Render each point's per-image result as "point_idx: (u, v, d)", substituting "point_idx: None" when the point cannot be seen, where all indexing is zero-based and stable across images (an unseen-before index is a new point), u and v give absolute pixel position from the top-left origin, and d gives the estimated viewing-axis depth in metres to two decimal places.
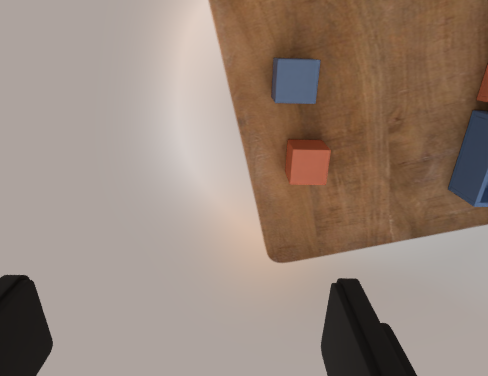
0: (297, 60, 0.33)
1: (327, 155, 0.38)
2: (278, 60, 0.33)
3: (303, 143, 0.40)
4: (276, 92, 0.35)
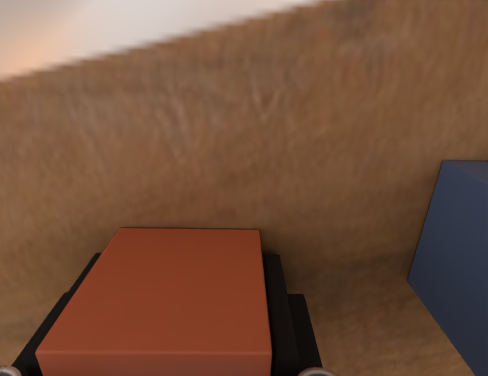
0: None
1: None
2: None
3: None
4: None
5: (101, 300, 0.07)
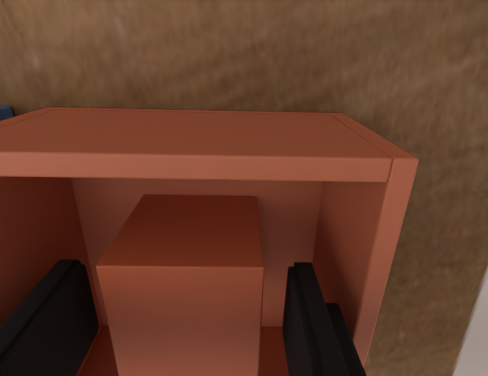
0: None
1: (237, 373, 0.10)
2: None
3: None
4: None
5: (137, 238, 0.10)
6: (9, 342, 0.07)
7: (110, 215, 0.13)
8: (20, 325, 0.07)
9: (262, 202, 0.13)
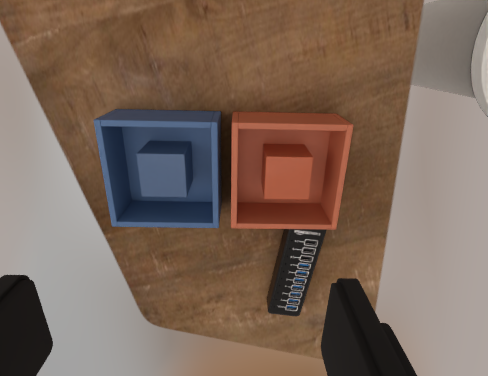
0: (184, 174, 0.31)
1: (302, 196, 0.32)
2: (182, 155, 0.30)
3: None
4: (148, 154, 0.30)
5: (272, 152, 0.31)
6: None
7: (249, 151, 0.35)
8: None
9: (306, 146, 0.34)
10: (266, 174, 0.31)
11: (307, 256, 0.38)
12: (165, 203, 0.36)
